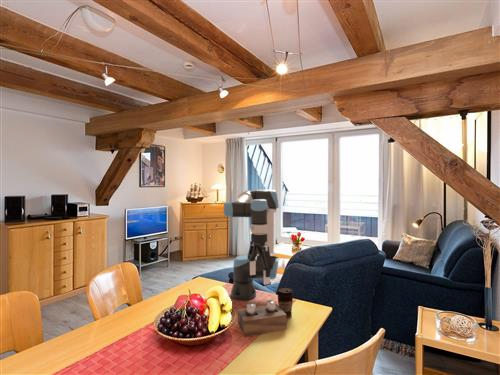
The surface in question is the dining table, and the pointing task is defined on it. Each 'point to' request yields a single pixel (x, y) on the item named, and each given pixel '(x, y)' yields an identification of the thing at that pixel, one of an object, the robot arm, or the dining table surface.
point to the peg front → (251, 309)
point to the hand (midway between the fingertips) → (259, 279)
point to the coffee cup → (285, 300)
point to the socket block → (261, 321)
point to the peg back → (271, 306)
